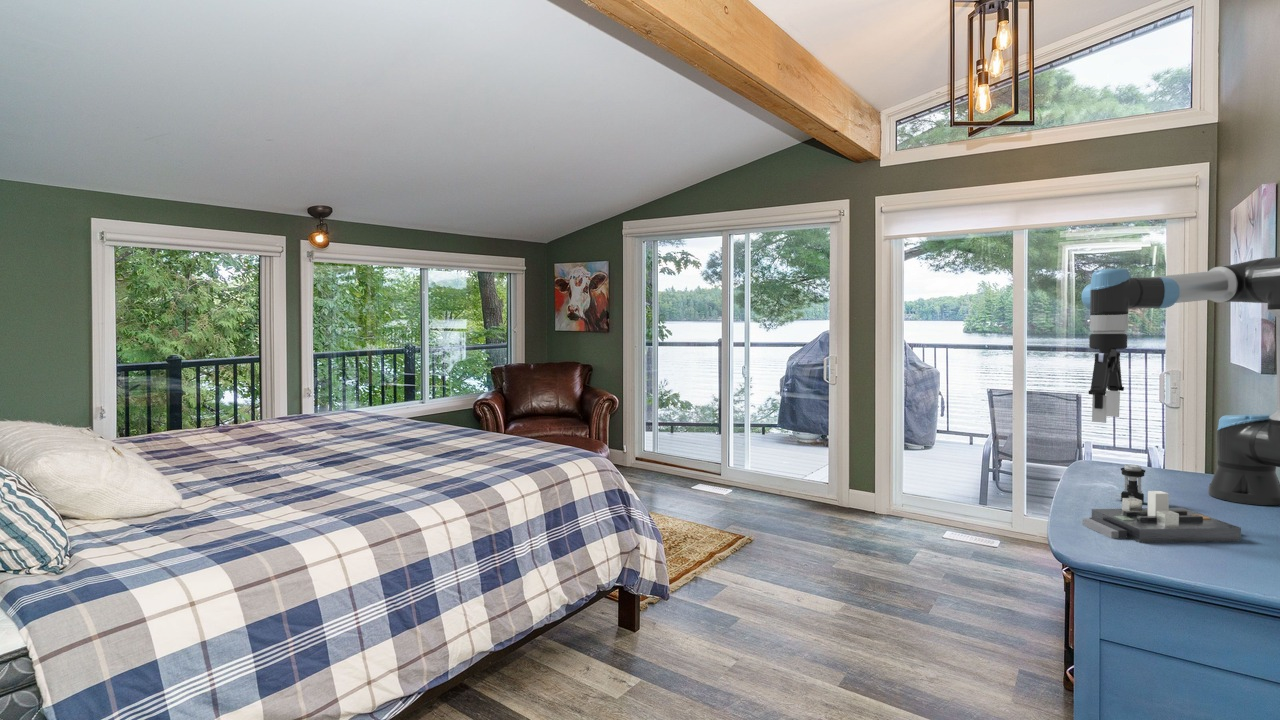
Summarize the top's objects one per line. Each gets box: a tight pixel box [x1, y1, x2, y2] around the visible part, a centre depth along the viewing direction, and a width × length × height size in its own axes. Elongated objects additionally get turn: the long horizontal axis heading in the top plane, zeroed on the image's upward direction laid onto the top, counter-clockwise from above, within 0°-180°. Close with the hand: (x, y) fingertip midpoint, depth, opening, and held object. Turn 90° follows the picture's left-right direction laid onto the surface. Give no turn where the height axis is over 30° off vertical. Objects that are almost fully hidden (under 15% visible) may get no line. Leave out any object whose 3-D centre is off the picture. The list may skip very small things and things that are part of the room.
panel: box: [1091, 498, 1242, 544], centre depth 151 cm, size 22×16×6 cm
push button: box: [1114, 464, 1146, 505], centre depth 175 cm, size 7×5×10 cm
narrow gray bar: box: [1082, 517, 1128, 539], centre depth 152 cm, size 3×10×2 cm, turn 178°
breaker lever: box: [1147, 490, 1170, 516], centre depth 151 cm, size 3×2×6 cm
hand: (1105, 419), depth 158 cm, fingers open, 13 cm apart
